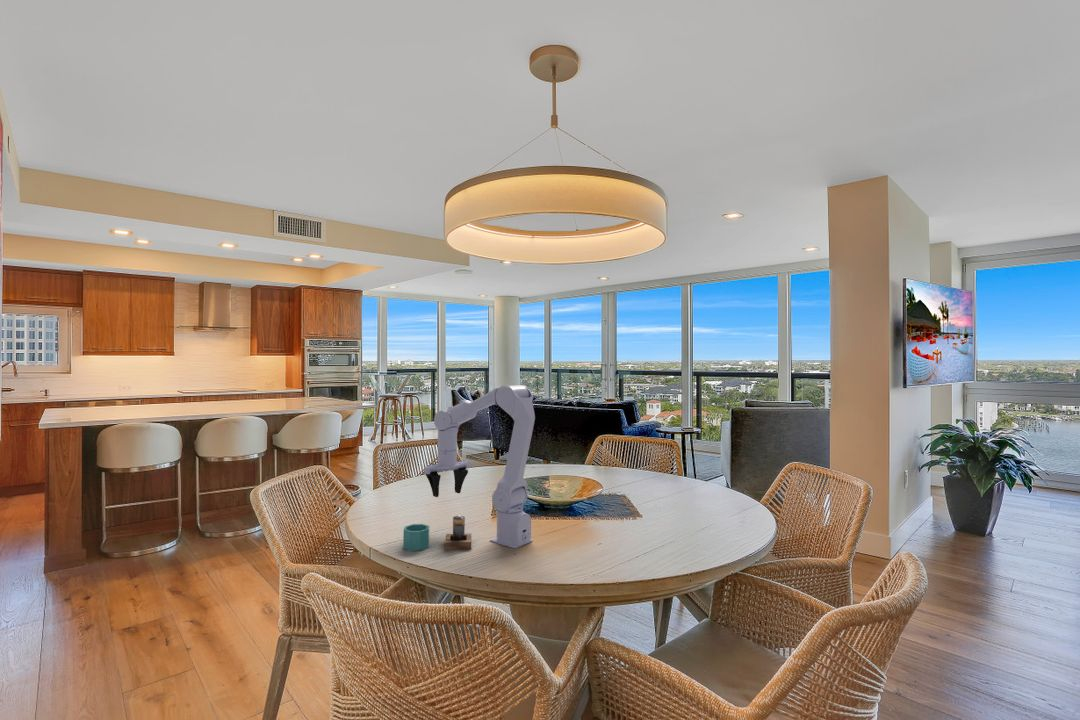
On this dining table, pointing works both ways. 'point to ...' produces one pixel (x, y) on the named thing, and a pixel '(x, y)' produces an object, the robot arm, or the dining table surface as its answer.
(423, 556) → the dining table surface
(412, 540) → the cup
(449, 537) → the block
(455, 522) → the cell
